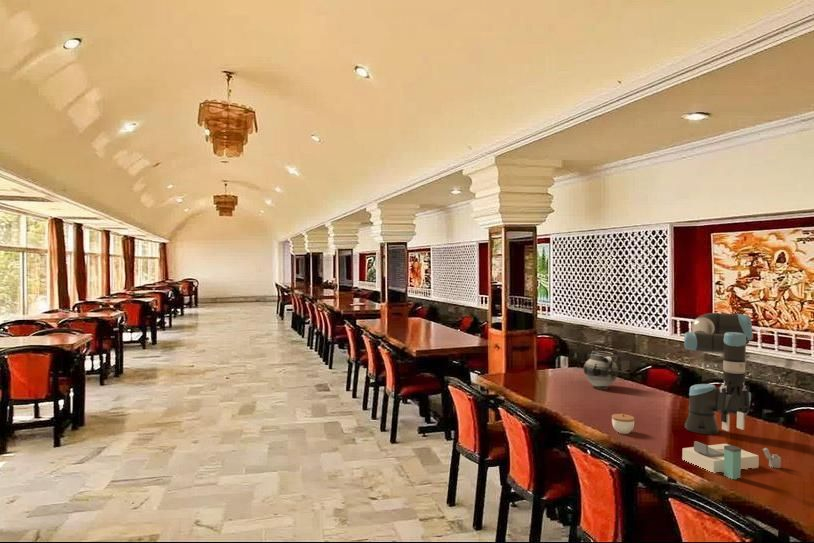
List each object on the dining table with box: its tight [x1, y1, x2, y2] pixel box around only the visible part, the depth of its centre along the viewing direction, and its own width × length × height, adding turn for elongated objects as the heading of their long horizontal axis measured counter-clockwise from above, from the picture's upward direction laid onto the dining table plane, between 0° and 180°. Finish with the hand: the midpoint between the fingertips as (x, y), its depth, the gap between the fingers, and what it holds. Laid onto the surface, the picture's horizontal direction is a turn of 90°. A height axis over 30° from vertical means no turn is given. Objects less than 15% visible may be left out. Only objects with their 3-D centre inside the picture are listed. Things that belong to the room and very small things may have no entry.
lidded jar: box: [611, 413, 636, 435], centre depth 272 cm, size 11×11×9 cm
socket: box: [681, 443, 760, 474], centre depth 229 cm, size 24×16×5 cm, turn 108°
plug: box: [723, 444, 742, 480], centre depth 214 cm, size 4×4×12 cm
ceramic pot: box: [583, 350, 620, 390], centre depth 372 cm, size 29×23×25 cm
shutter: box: [693, 440, 724, 457], centre depth 227 cm, size 9×8×4 cm
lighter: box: [762, 447, 782, 469], centre depth 226 cm, size 7×2×8 cm, turn 95°
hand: (732, 429), depth 214 cm, fingers open, 7 cm apart
